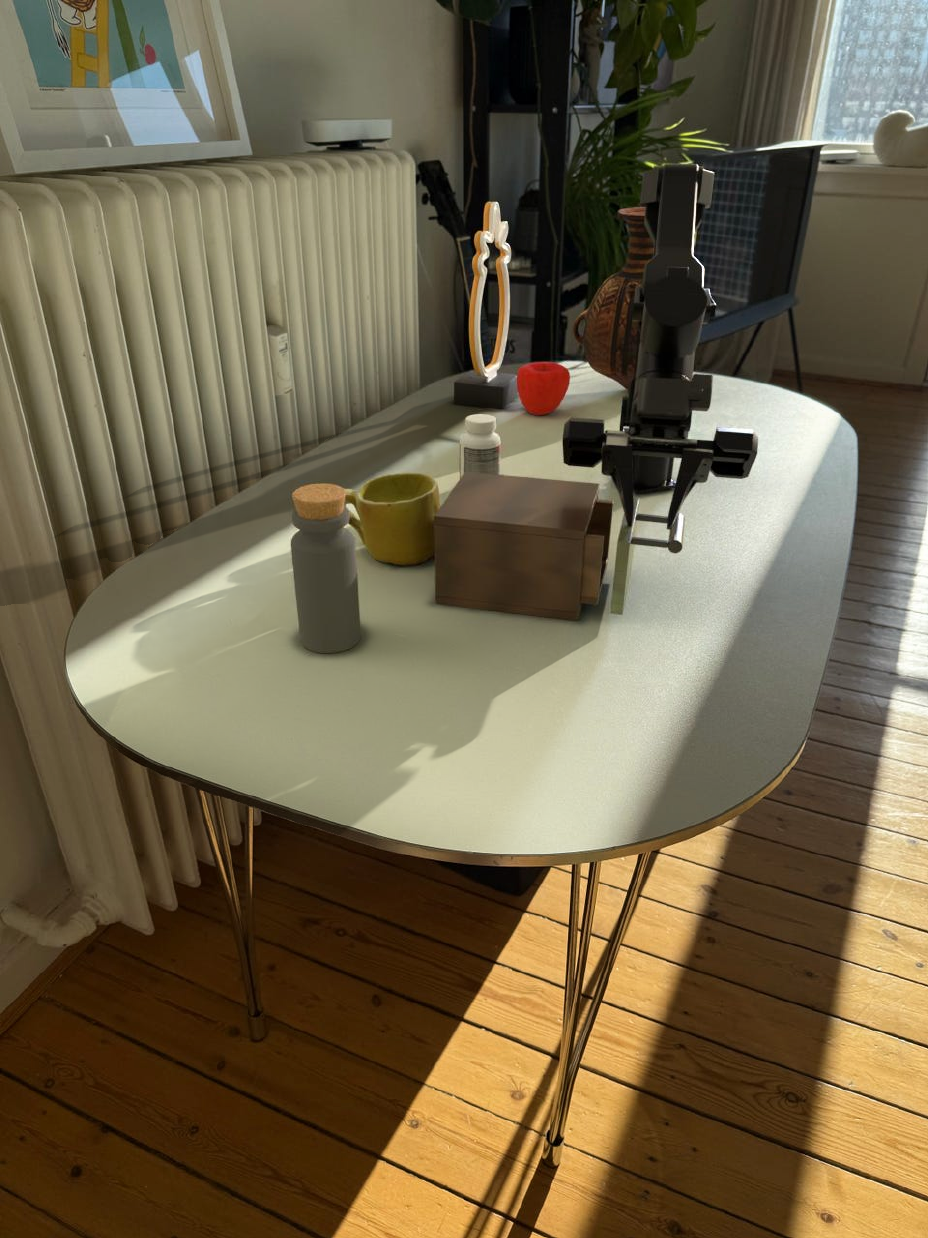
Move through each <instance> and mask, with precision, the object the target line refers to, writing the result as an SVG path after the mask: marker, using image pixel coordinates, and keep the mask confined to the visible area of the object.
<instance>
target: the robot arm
mask: <svg viewBox="0 0 928 1238" xmlns="http://www.w3.org/2000/svg"><path fill="white" fill-rule="evenodd" d="M641 180H642V181H641V193H640V203H639V205H640V206H639V207H646V210H645V221H644V224H645V227H646V229H647V231H648V233H649V235H650V238H651V240H652V242H653V244H654V253H653V258H652V259H651V260H650V261H649V262H648V263H647V264H645V266H644V274H643V284H642V286H636V288H635V299H634V310H633V321H639V327H638V330H639V331H641V336H640V339H641V342H640V345H639V354H638V363H637V372H636V374H635V376H634V377H633V379H632V380H631V382H630V383H629V390H628V389H627V390H628V391H627V396H622V397H621V406H620V407H621V409H620V420H619V429H618V430H610V429H609V430H608V429H607V430H605V419H603V418H602V419H600V418H588V417H587V418H585V417H572V416H571V417H570V418H569V419H567V420H566V421H565V423H564V424H563V432H562V437H561V438H562V439H561V441H562V459H563V460H562V461H563V464H564V465H567V466H568V467H579V468H591V469H592V468H594V469H595V467H596V466H597V465H599V464H601V468H600V469H601V474H602V475H604V476H607V477H610V478H611V480H612V482H613V484H614V486H615V488H616V490H617V493H618V495H619V499H620V502H621V506H622V510H623V515H624V514H625V517H626V521H627V525H628V526H632V520H633V511H634V499H633V498H634V493H635V494H647V493H651V492H657V491H665V490H671V489H673V493H672V496H671V500H670V505H669V508H668V512H667V516H668V518H667V523H666V530H669V531H670V530H671V528H672V526H673V523H674V521H675V519H676V517H677V515H678V513H680V511H681V508H682V506H683V505H684V503H685V500H686V499H687V498H688V496H689V494H690V493H691V492H692V490H693V488H694V487H695V486H696V485H697V484H704V483H706V482H707V481H708V478H709V476H710V473H711V474H712V475H713V476H714V477H715V478H721V479H734V480H735V479H737V480H742V479H747V478H749V476H750V474H751V471H752V468H753V465H754V463H755V462H756V458H757V456H758V446H759V445H758V444H759V437H758V435H757V433H756V432H755V431H754V430H753V429H749V428H734V427H732V428H731V427H720V426H717V427H716V429H715V433H714V435H713V436H714V438H713V440H709V439H697V438H695V439H694V438H689V432H690V431H691V427H692V418H693V411H694V412H709V410H710V407H711V404H712V394H713V381H714V374H705V373H704V374H703V373H702V374H701V373H694V369H695V368H694V367H695V354H696V350H697V347H698V345H699V342H700V339H699V338H701V333H702V327H703V325H708V324H709V321H710V318H712V319H713V318H716V311H717V304H716V302H715V300H714V299H713V298H712V296H711V291H710V288H705V287H704V285H705V267H704V265H702V263H701V262H700V261H699V260H698V259H697V258H696V257H695V256H694V247H695V234H696V232H697V230H698V229H699V228H700V225H701V222H702V220H703V217H704V210H705V209H709V208H710V207H711V205H712V196H713V189H714V180H715V172H714V171H710V170H706V169H704V166H701V165H700V166H699V165H698V164H697V163H665V164H663V165H653V169H649V170H645V171H644V170H643V172H642V179H641ZM675 459H681V460H680V464H679V468H678V472H677V476H676V480H675V481H674V480H672V478H673V471H674V462H675Z"/></svg>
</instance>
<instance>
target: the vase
mask: <svg viewBox="0 0 928 1238" xmlns="http://www.w3.org/2000/svg"><path fill="white" fill-rule="evenodd" d="M645 210H646V207H640V206H636V207H627V208H621V209H618V210H617V212H616V214H617V219H618V221H620V222H626V223H627V224H626V225H627V228H628V237H629V241H628V253H627V258H626V261H625V264H624V265H623V267H622V268H621V269H620V270H618V272H616V273H614V274H612V275H610V276H609V277H607V279H605V280H604V281H603V282H602V283H601V285H600V286H599V288H598V289H597V292H596V293H595V294H594V297H593V299H592V300H591V303H590V304H589V307H588V308H587V309H586V310H584V311H583V312H581V313H579V315H578V316H577V317H576V318H575V320H574V323H573V325H572V326H573V327H572V333H573V338H574V340H575V341H576V343H578V345H580V346H581V347H582V348H583V352H584V356H585V359H586V362H587V363H588V365H589V367H590V368H591V369H592V370H593V371H594V372H596V373H598V374H600V375H602V376H603V377H606V378H608V379H611V380H612V381H614V382H616V383H617V384H619V385H620V386H622V387H623V388H624V389H625V390H629V383H630V382H631V380H632V379H633V377H634V376H635V374H636V372H637V363H638V354H639V345H640V342H641V339H640V336H641V331H639V330H638V327H639V321H633V310H634V299H635V288H636V286H642V284H643V274H644V266H645V264H647V263H648V262H649V261H650V260H651V259H652V258H653V253H654V244H653V242H652V240H651V238H650V235H649V233H648V231H647V229H646V227H645V224H644V221H645ZM583 320H584V328H583V335H582V334H580V332H579V331H580V329H579V327H580V324H581V322H582V321H583ZM700 338H701V337H700ZM700 338H699V340H701V339H700Z"/></svg>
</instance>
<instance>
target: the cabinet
mask: <svg viewBox="0 0 928 1238" xmlns="http://www.w3.org/2000/svg"><path fill="white" fill-rule="evenodd" d="M600 487H601V485H600V483H593V482H585V481H584V482H583V481H574V480H573V481H572V480H563V479H562V480H561V479H551V478H540V477H539V478H538V477H529V476H517V475H507V474H500V475H497V474H486V473H475V472H465V473H464V474H463V476H462V477H461V478H460V477H459V479H458V481H457V483H456V484H455V486H454V487H453V488H452V490H451V491H450V493H449V494H448V496H447V497H446V498H445V500H444V501H443V503H442V504H441V505H440V508H439V510H438V511H437V513H436V514H435V516H434V540H435V556H434V589H435V590H434V591H435V592H434V603H435V604H437V605H445V606H453V607H461V608H468V609H469V608H470V609H477V610H485V611H493V612H494V611H495V612H502V613H508V614H509V613H510V614H516V615H517V614H518V615H525V616H527V615H528V616H534V617H543V618H550V619H558V620H567V621H574V622H575V621H576V622H578V621H579V618H580V614H581V610H582V606H583V603H580V594H581V581H582V569H583V556H584V543H585V535H586V531H587V528H588V525H589V522H590V519H591V516H592V512H593V509H594V506H595V503H596V500H597V499H599V500H600V498H599V497H600V493H599V492H600Z"/></svg>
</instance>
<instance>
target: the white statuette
mask: <svg viewBox="0 0 928 1238" xmlns="http://www.w3.org/2000/svg"><path fill="white" fill-rule="evenodd" d="M483 209H484V210H483V227H482V228H483V229H482V230H478V231H477V232H476V233H475V234H474V239H473V242H474V248H475V250H476V253H475V255H474V256H473V258H472V262H471V268H472V271H473V275H474V277H473V282H472V286H471V287H472V288H471V293H470V302H469V313H468V314H469V315H468V338H469V339H468V340H469V349H470V357H471V361H472V366H473V369H471V370H469V371H468V372H466V373H465V374H464V375H462V376H461V377H459V378H458V379H457V380H455V381H454V382H453V404H454V405H460V406H461V405H462V406H470V407H477V408H478V407H479V408H488V409H495V410H503V409H505V408H506V407H507V406H508V405H510V404H511V402H513V401H514V400H515V399H516V398H517V397H519V395H518V390H517V374H515V373H505V372H498V370H499V369H500V368H501V366H502V363H503V360H504V355H505V351H506V346H507V340H508V333H509V327H510V313H511V312H510V310H511V292H510V290H511V289H510V278H509V277H510V276H509V270H508V264H509V263H510V261H511V259H512V249H511V246H510V244H509V243H507V241H506V240H507V237H508V234H509V224H508V221H501V210H500V209H501V208H500V205H499V202H497V201H487V202H486V203H485V205H484V208H483ZM493 242H494V245H495V247H496V248H497V249H498V250H499V251H500V256H499V257H498V258H497V259H496V260H495V268H496V269H495V270H496V273H497V280H498V281H497V282H498V288H499V289H498V290H499V291H498V292H499V295H498V296H499V312H498V313H499V314H498V324H497V325H498V326H497V334H496V340H495V346H494V350H493V352H494V353H493V355H492V359H491V361H490V363H489V364H488V365H486V366H485V363H484V358H483V352H482V343H481V341H482V340H481V311H482V302H483V295H484V290H485V289H484V288H485V284H486V279H487V274H488V268H487V267H486V266H485V264H484V262H485V261H486V260H487V259H488V258H489V257H490V248H489V246H488V245H487V243H488V244H493Z"/></svg>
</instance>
